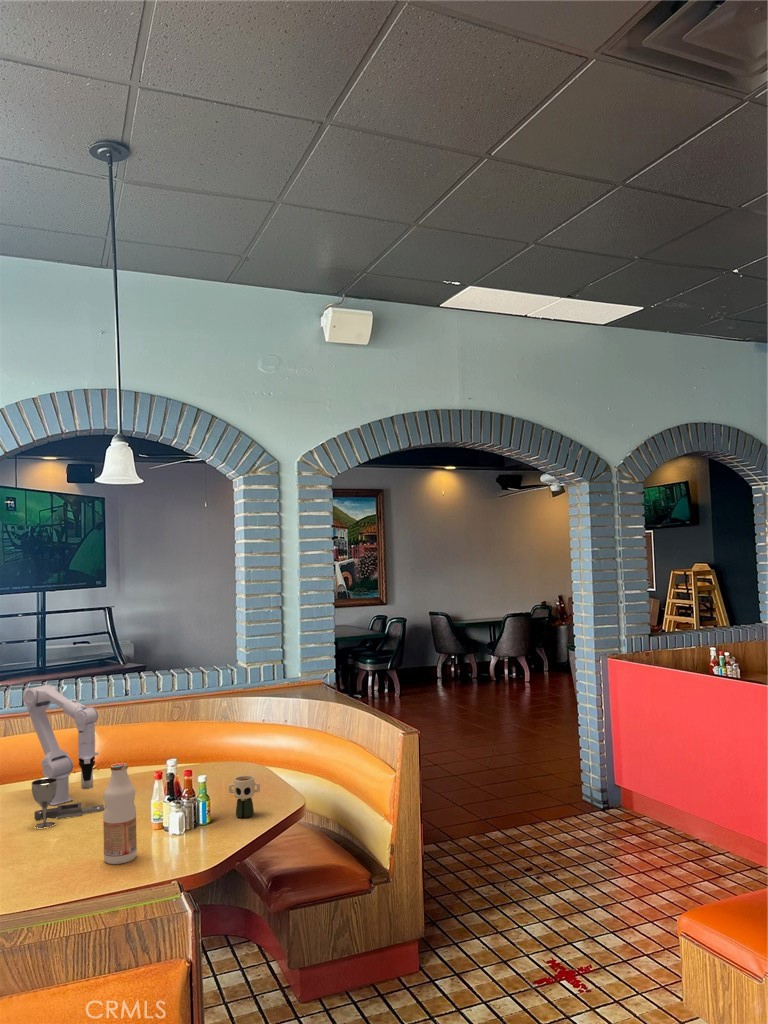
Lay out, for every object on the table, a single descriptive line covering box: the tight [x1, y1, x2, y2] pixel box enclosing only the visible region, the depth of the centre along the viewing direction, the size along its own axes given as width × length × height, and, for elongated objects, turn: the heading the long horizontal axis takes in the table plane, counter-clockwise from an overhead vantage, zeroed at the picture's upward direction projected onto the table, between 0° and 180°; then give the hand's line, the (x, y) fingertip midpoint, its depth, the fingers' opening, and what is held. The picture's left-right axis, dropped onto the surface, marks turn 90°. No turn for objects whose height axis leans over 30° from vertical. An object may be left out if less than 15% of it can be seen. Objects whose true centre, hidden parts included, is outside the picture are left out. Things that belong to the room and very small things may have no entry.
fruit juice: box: [102, 762, 138, 865], centre depth 235 cm, size 9×9×28 cm
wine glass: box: [31, 777, 57, 828], centre depth 266 cm, size 8×8×15 cm
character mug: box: [228, 774, 261, 818], centre depth 269 cm, size 11×7×13 cm, turn 90°
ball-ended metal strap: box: [33, 802, 105, 821], centre depth 277 cm, size 23×8×2 cm, turn 112°
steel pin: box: [80, 768, 94, 790], centre depth 286 cm, size 4×4×9 cm
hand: (87, 779), depth 286 cm, fingers closed on steel pin, 4 cm apart
